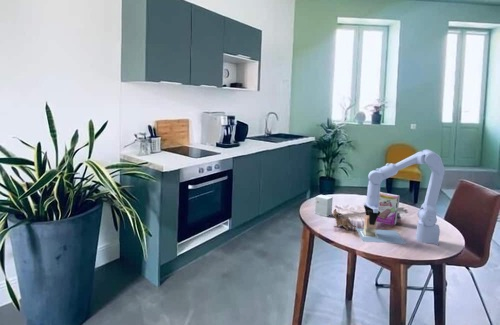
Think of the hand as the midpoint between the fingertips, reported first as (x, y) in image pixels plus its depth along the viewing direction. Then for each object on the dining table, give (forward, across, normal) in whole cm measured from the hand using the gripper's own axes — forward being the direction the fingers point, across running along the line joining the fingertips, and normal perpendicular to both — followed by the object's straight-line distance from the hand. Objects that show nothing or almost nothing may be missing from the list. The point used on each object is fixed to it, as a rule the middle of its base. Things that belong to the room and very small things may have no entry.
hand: (370, 222), depth 177 cm
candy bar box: (+7, -19, +13) cm, 24 cm away
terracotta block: (+2, 0, 0) cm, 2 cm away
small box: (+7, -28, -19) cm, 35 cm away
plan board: (+7, +1, +5) cm, 9 cm away
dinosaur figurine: (+7, -7, -12) cm, 16 cm away
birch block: (+6, 0, 0) cm, 6 cm away
